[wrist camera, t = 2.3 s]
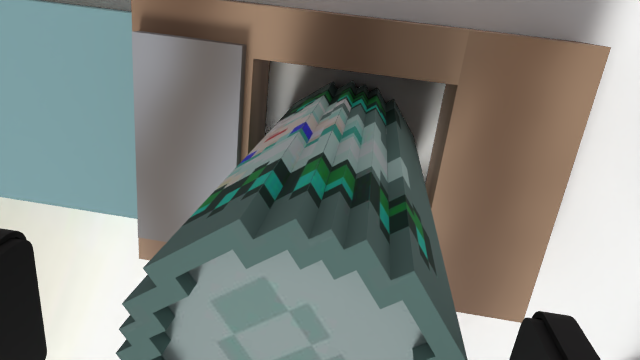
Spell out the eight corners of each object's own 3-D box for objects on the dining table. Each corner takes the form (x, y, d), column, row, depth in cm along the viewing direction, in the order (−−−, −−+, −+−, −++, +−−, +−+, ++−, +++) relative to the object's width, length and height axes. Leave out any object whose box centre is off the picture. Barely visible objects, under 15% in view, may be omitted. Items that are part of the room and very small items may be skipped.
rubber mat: (143, 13, 21) (132, 13, 20) (148, 211, 25) (139, 219, 24) (-59, -12, 22) (-78, -13, 21) (-26, 183, 26) (-42, 190, 25)
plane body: (578, 41, 20) (618, 48, 16) (506, 285, 24) (526, 331, 20) (164, -8, 21) (122, -11, 18) (166, 230, 25) (132, 265, 22)
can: (372, 59, 21) (352, 161, 7) (432, 173, 22) (517, 451, 8) (260, 123, 22) (58, 310, 9) (323, 225, 24) (239, 529, 10)
